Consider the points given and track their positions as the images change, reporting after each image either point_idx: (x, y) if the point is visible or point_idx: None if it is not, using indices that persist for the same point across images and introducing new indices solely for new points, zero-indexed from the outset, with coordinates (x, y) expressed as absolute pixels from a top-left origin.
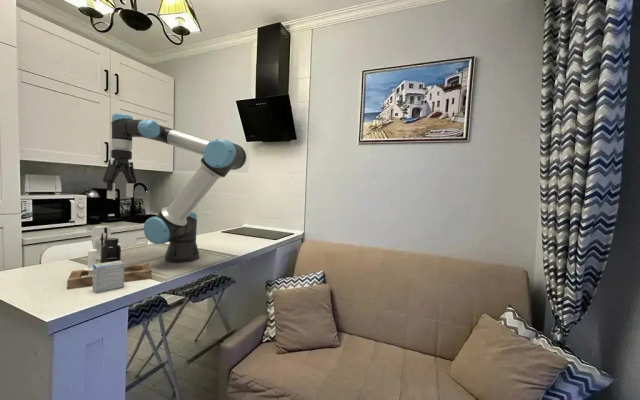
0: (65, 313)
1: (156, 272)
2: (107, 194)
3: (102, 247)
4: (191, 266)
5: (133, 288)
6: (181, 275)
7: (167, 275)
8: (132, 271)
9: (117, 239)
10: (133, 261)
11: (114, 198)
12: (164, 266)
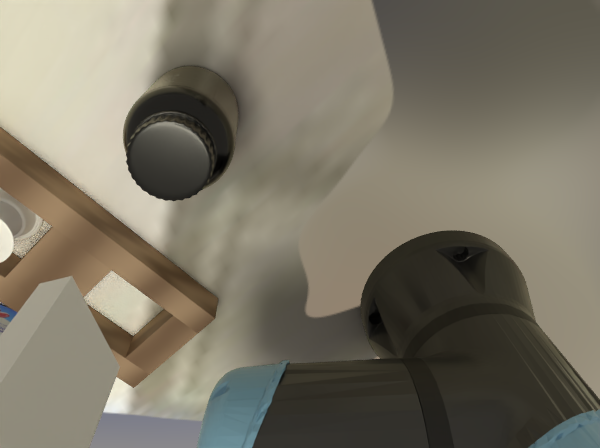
0: None
1: (209, 336)
2: (8, 339)
3: (127, 125)
4: None
5: None
6: None
7: (194, 387)
8: None
9: (185, 197)
10: (322, 133)
11: (108, 372)
12: (292, 312)
